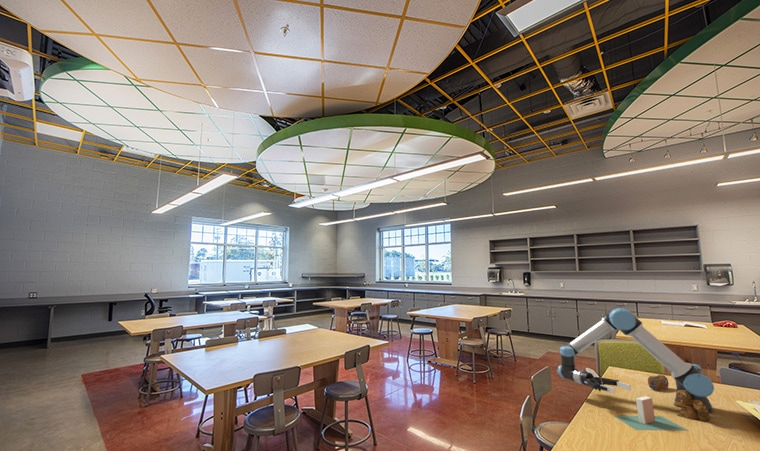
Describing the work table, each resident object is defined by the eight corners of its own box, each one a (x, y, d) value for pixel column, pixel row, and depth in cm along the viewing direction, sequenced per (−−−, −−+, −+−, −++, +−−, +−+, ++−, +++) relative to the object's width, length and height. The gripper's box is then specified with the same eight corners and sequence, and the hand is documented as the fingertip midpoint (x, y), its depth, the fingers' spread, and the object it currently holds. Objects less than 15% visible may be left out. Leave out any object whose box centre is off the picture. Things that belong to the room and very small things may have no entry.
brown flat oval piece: (653, 391, 203) (651, 377, 205) (647, 389, 206) (645, 375, 208) (670, 388, 207) (667, 374, 209) (664, 387, 210) (662, 373, 212)
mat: (660, 416, 166) (660, 415, 166) (688, 431, 150) (688, 430, 150) (613, 416, 167) (613, 415, 167) (636, 431, 151) (636, 430, 151)
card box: (648, 419, 162) (645, 396, 164) (655, 421, 160) (652, 398, 162) (639, 422, 159) (635, 398, 161) (645, 424, 157) (642, 400, 159)
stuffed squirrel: (683, 411, 172) (678, 385, 175) (717, 422, 160) (712, 394, 162) (672, 415, 169) (667, 388, 171) (706, 425, 156) (701, 397, 158)
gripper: (598, 381, 194) (637, 393, 175) (570, 387, 184) (608, 400, 165) (597, 368, 195) (635, 379, 176) (568, 373, 186) (606, 384, 166)
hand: (622, 389), depth 170 cm, fingers open, 13 cm apart
